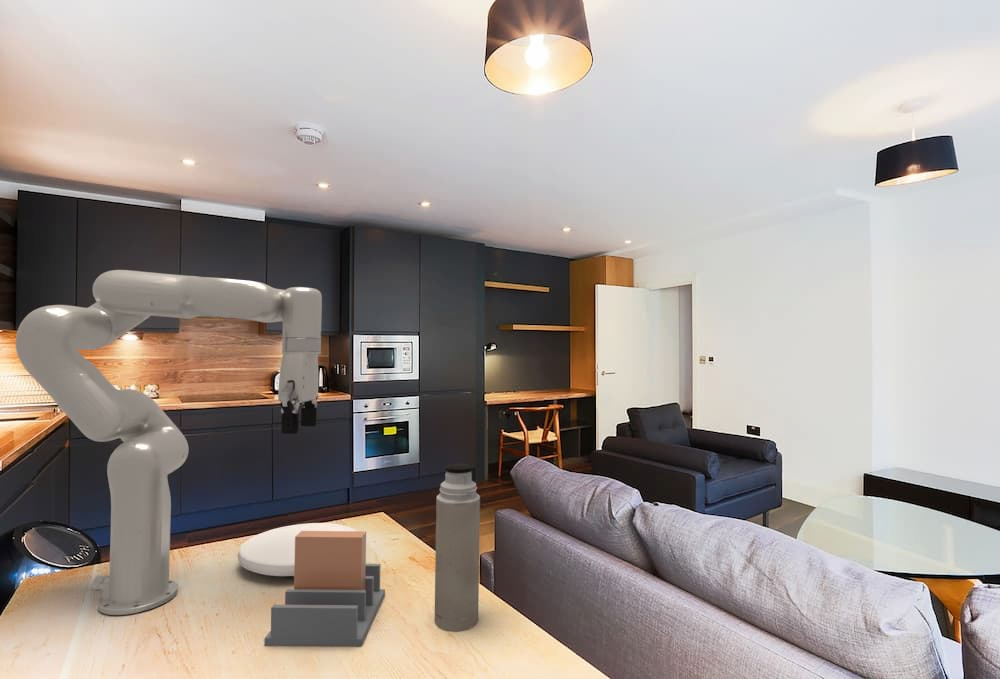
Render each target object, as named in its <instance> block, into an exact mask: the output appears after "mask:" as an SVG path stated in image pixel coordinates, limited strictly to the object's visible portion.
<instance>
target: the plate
mask: <svg viewBox="0 0 1000 679" xmlns="http://www.w3.org/2000/svg"><path fill="white" fill-rule="evenodd" d="M301 531H357V530H356V529H354V528H352V526H351V527H350V526H347V525H346V524H345V525H344V524H339V523H332V522H331V523H330V522H312V523H311V522H309V523H300V524H291V525H285V526H281V527H277V528H276V527H275V528H273V529H270V530H266V531H263V532H261V533H258V534H256V535H254V536H252V537H250V538H249V539H247V540H245V541H244V542H243V543H242V544H241V545H240V546H239V549H238V551H237V552H238V553H237V560H238V562H239V564H240V566H241V567H243V569H245V570H248V571H250V572H252V573H255V574H256V573H257V574H259V575H264V576H272V577H273V576H274V577H294V565H295V537H296V536H297V535H298V534H299V533H300V532H301Z"/></svg>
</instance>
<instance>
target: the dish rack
mask: <svg viewBox="0 0 1000 679" xmlns="http://www.w3.org/2000/svg"><path fill="white" fill-rule="evenodd" d="M381 567H382V566H381V563H366V570H365V590H328V589H294V588H287V589H286V590H285V592H284V594H285V595H284V604H273V605H272V606H271V607H270V631H269V632H268V633H267V634H266V636H265V637H264V643H263V644H264V645H263V646H270V647H271V646H275V647H276V646H278V647H279V646H280V647H282V646H283V647H284V646H286V647H287V646H288V647H292V646H294V647H296V646H297V647H363V644H364V642H365V640H366V637H367V635H368V633H369V631H370V629H371V626H372V625H373V621H374V620H375V618H376V616H377V614H378V611H379V610H380V607H381V605H382V603H383V600H384V598H385V595H386V589H384V588H383V589H381Z"/></svg>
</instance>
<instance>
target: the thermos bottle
mask: <svg viewBox="0 0 1000 679" xmlns="http://www.w3.org/2000/svg"><path fill="white" fill-rule="evenodd" d="M445 471H446V472H445V475H444V477H445V478H444V479H445V480H444V481H442V482H441V483H440V487H439V494H438V495H436V500H435V501H436V508H435V513H436V521H435V556H434V557H435V561H434V563H435V567H434V568H435V570H434V574H435V576H434V624H435V625H436V626H437V627H438V628H439V629H442V630H445V631H450V632H462V631H466V630H468V629H469V630H470V629H471V628H473V627H474V626H476V625H477V623H478V622H479V602H480V601H479V595H480V594H479V593H480V592H479V591H480V589H479V588H480V587H479V584H480V581H479V580H480V522H481V521H480V516H481V515H480V514H481V513H480V512H481V511H480V510H481V508H480V507H481V496H480V495H479V494H478V493H477V489H478V487H477V483H476V482H475V481H473V480H472V476H473V475H472V474H473V473H472V471H473V465H472V464H471V465H470V464H468V463H452V464H451V463H450V464H447V465H446V466H445Z"/></svg>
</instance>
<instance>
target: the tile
mask: <svg viewBox="0 0 1000 679" xmlns="http://www.w3.org/2000/svg"><path fill="white" fill-rule="evenodd" d="M366 559H367V531H364V530H363V531H358V530H356V531H301V532H300V533H299V534H298V535H297V536H296V537H295V565H294V576H293V589H328V590H365V570H366V564H367V563H366Z"/></svg>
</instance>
